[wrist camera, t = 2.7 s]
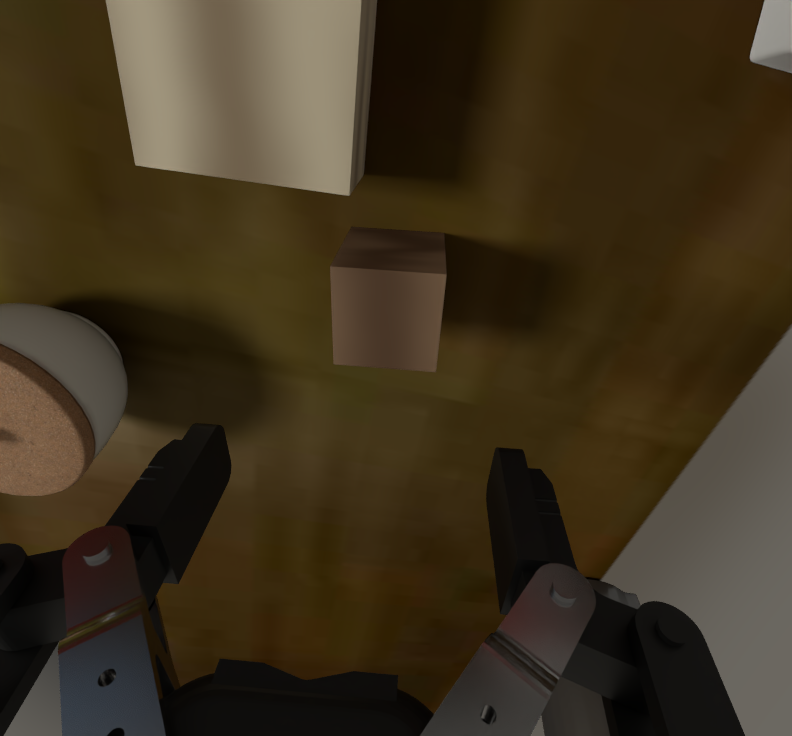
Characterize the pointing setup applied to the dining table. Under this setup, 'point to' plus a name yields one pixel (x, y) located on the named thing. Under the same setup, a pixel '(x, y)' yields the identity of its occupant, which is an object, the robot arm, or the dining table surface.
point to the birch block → (248, 87)
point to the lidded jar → (54, 397)
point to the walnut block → (388, 298)
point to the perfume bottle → (774, 36)
